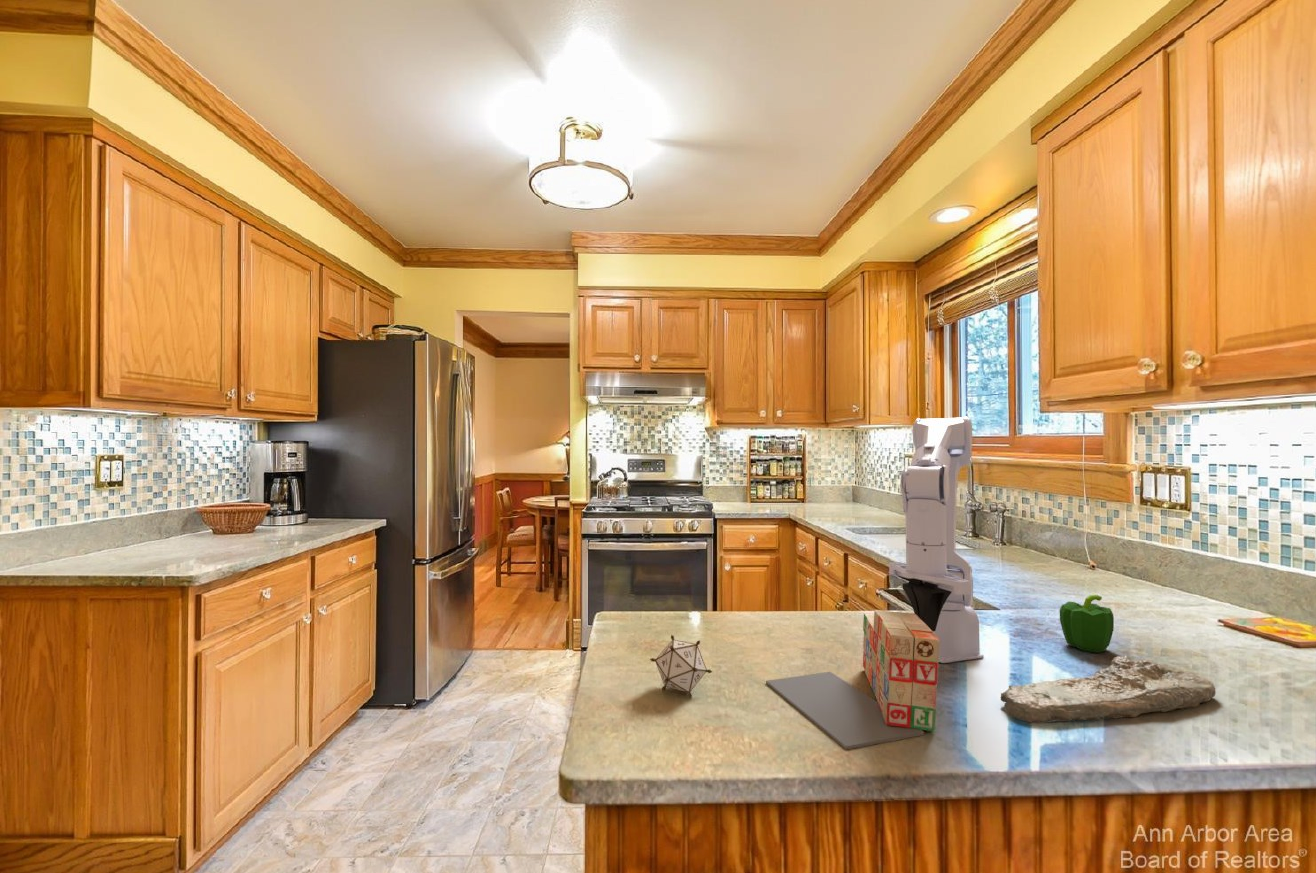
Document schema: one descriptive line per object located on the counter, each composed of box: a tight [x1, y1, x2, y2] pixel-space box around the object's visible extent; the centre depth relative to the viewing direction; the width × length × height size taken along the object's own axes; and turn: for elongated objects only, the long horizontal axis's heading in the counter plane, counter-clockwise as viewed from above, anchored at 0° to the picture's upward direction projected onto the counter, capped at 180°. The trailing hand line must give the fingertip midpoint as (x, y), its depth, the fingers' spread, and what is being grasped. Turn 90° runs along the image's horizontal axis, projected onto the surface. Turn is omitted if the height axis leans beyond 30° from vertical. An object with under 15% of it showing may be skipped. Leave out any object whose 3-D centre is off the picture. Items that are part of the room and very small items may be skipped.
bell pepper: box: [1059, 594, 1115, 653], centre depth 105 cm, size 8×8×10 cm
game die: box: [649, 634, 713, 699], centre depth 88 cm, size 9×8×10 cm
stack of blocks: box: [862, 609, 939, 732], centre depth 85 cm, size 21×6×12 cm, turn 168°
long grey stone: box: [1000, 655, 1217, 724], centre depth 83 cm, size 35×5×10 cm
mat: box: [765, 671, 925, 751], centre depth 82 cm, size 12×21×1 cm, turn 17°
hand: (927, 630), depth 87 cm, fingers closed
